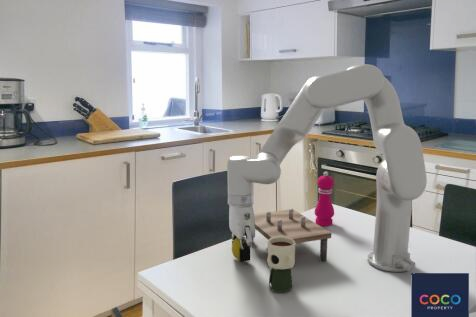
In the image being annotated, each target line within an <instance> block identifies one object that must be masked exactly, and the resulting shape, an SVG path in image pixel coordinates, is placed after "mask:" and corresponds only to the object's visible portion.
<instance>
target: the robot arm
mask: <svg viewBox="0 0 476 317" xmlns="http://www.w3.org/2000/svg"><path fill="white" fill-rule="evenodd" d="M397 93H398V92H397V91H396V89H395V86H393V84H392V83H391V82H390V80H388V78H386V77H385V76H384V75H383V72H382V70H381V69H380V68H379V67H377V66H375V65H373V64H360V63H359V64H353V65H351V66H350V67H347V69H345V70H342V71H339V72H334V73H330V74H324V75H315V76H312V77H310V78H309V79H307V81H306V82H305V83H304V84H303V86H302V87H301V89H300V91H299V92H298V93H297V95H296V96H295V98H294V99H293V101H292V103H291V104H290V105H289V107H288V109H287V111H286V112H285V113H284V115H283V117H282V118H281V120H280V121H279V122H278V124H277V125H276V127H275V128H274V129H273V131H272V132H271V134H269V137H268V138H267V140H266V141H265V142H264V144H263V146H262V147H261V148H260V150H259V152H258V153H257V155H256V156H255V159H253V158H252V157H251V156H247V155H233V156H230V157H229V158H227V161H226V162H227V164H226V169H227V170H226V171H227V174H226V175H227V205H228V207H229V209H228V211H229V212H228V224H229V225H228V226H229V230H230V232H231V240H232V241H231V245H232V244H233V241H234V239H235V238H238V239H240V246H241V248H240V260H239V262H241V263H242V262H249V261H251V249H252V244H253V243H254V240H253V241H252V238H253V239H255V237H256V229H255V219H254V214H255V210H254V195H255V194H254V189H255V188H254V184H260V185H272V184H275V183H277V181H278V180H279V179H280V177H281V173H282V169H281V164H282V162H283V161H284V159H285V158H286V156H287V154H289V152H290V151H291V150H292V149H293V147H294V146H296V144H298V143H299V142H301V141H303V140H304V139H305V138H306V137H307V136H308V135H309V134H310V132H311V131H312V129H313V128H314V126H315V125H316V123H317V121H318V120H319V118H320V117H321V116H322V114H323V113H324V111H325V110H326V109H332V108H336V107H340V106H346V105H349V104H351V103H355V102H358V101H363V102H364V104H365V105H366V108H367V112H368V116H369V121H370V126H371V132H372V141H373V145H374V147H375V149H376V150H377V151H378V152H379V153H380V154H382V155H384V160H383V161H381V162H380V164H379V165H378V167H377V171H376V176H375V177H376V178H375V180H376V181H375V182H376V208H375V210H376V211H375V223H374V238H373V239H374V240H373V251H372V252H370V253H368V255H367V263H369V265H371V266H372V267H374V268H376V269H378V270H381V271H386V272H393V273H399V272H400V273H402V272H407V271H408V272H410V271H411V270H412V269H413V267H415V266H416V262H415V261H414V260H412V259H411V253H410V252H409V242H410V241H409V240H410V227H411V219H412V218H411V217H412V211H413V210H412V208H413V207H412V206H413V205H412V204H413V201H414V200H416V199H418V198H420V197H421V196H422V195H423V194H424V193H425V190H426V187H427V180H428V179H427V170H426V164H425V157H424V151H423V147H422V142H421V139H420V137H419V135H418V133H417V131H415V130H414V129H413V128H412V127H411V126H409V125H406V124H405V121H404V118H403V111H402V108H401V102H400V99H399V95H398V94H397ZM243 237H245V238H243ZM243 240H246V242H245V243H244V244H243Z"/></svg>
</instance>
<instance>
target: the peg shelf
mask: <svg viewBox="0 0 476 317" xmlns="http://www.w3.org/2000/svg"><path fill="white" fill-rule="evenodd" d="M254 219H255V231H257V232H259V233H260V234H261V235H262V236H263V237H264V238H265V239H266V240H267V241H268V240H269V239H270V238H273V237H288V238H291V239H293V240H294V241H295V245H296V244H303V243H308V242H309V243H310V242H315V241H320V243H319V244H320V249H319V261H320V262H323V263H325V262H327V257H328V254H327V253H328V239H332V232H331V231H328V230H327V229H325V228H324V227H323V226H320V225H317V224H316V223H315V222H314V221H313V220H311V219H310V218H308V217H306V216H304V214H302V213H300V212H298V211H296V210H294V209H293V208H289V209H285V210H284V209H283V210H276V211H266V212H261V213H259V212H258V213H254ZM252 241H253V242H254V238H252Z"/></svg>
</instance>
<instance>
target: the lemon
mask: <svg viewBox="0 0 476 317" xmlns="http://www.w3.org/2000/svg"><path fill="white" fill-rule="evenodd" d="M243 238H246V236H243ZM232 241H233V240H232ZM245 242H246V240H243V244H244V243H245ZM240 248H241V246H240V239H238V238H235V239H234V241H233V244H232V243H231V252H232V255H233V257H234V258H235V259H236V260H238V261H240Z"/></svg>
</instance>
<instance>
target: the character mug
mask: <svg viewBox="0 0 476 317" xmlns="http://www.w3.org/2000/svg"><path fill="white" fill-rule="evenodd" d="M295 258H296V244H295V241H294V240H293V239H291V238H288V237H273V238H270V239H269V240H268V239H267V259H266V262H267V265H268V267H270V272H269V277H268V288H270V290H271V291H274V292H278V293H283V292H287V291H289V290H292V288H293V277H292V276H293V275H292V268H293V267H294V266H295V264H296V263H295V262H296V259H295Z"/></svg>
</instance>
